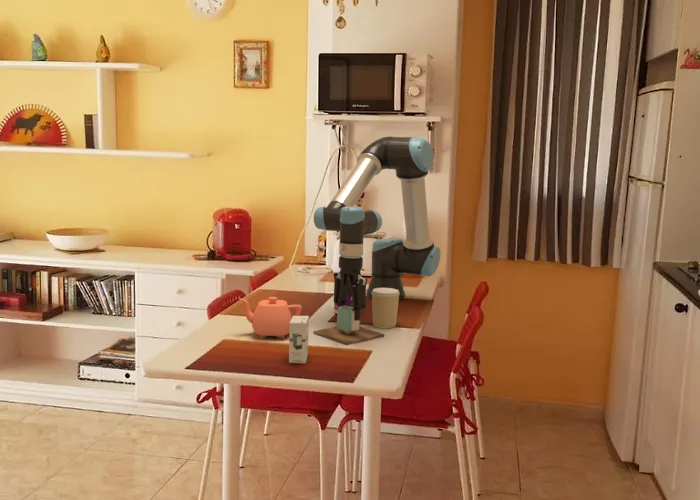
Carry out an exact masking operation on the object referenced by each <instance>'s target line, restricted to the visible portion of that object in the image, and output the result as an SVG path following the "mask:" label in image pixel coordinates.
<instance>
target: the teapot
mask: <svg viewBox="0 0 700 500" xmlns="http://www.w3.org/2000/svg"><path fill="white" fill-rule="evenodd" d="M238 300H239V301H241V303H242V304H243V307H244V312H245V318H246V319H247V320H246V321H247V322H249V323H250V324H251V326H252V329H253V332H254V333H255V334H256V335H257V336H258V338H259V339H266V338H267V337H276V338H277V339H279V338H280V339H279V340H281V338H282V339H285V338H286V337H285V336H287V335H288V334H289V330H290V321H291V319H292V317H293V316H301V312H302V310H303V306H302V305H301V304H288V302H287V301H286V300H283V299H278V297H276V296H269V297H268V298H267V299H262V300H260V301H259V302H258V304H257V306H256V308H255V311H254V312H252V311H251V307H250V303H249V300H247V299H245V298H240V297H239V298H238ZM291 309H295V313H294V315H292V311H291Z"/></svg>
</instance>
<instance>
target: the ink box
mask: <svg viewBox="0 0 700 500" xmlns="http://www.w3.org/2000/svg"><path fill="white" fill-rule="evenodd" d="M309 321H310V316H309V315H299V316H294V315H292V319H291V321H290V330H289V333H288V334H289V339H288V350H289V351H288V363H289V364H306V363H307V359H308V356H309V330H310V329H309V327H310V326H309V325H310V322H309Z"/></svg>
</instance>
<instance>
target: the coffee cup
mask: <svg viewBox="0 0 700 500" xmlns="http://www.w3.org/2000/svg"><path fill="white" fill-rule="evenodd" d="M399 294H400V293H399V291H398V290H397V289H393V288H375V289H373V291H372V299H371V304H372V305H371V306H372V307H371V308H372V309H371V310H372V325H373V326H374V327H375V328H380V329H392V328H395V327H396V326H397V317H398V310H399V309H398V308H399V301H400V300H399Z"/></svg>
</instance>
